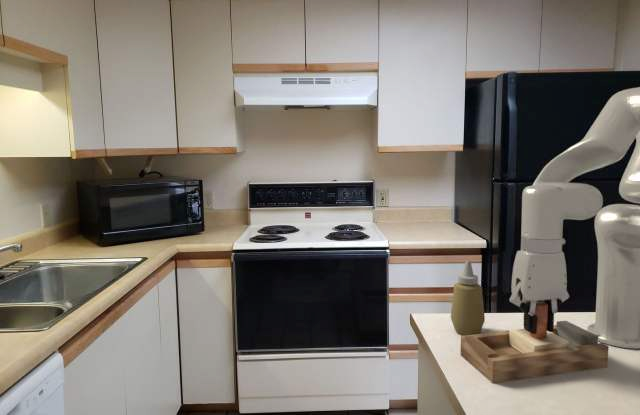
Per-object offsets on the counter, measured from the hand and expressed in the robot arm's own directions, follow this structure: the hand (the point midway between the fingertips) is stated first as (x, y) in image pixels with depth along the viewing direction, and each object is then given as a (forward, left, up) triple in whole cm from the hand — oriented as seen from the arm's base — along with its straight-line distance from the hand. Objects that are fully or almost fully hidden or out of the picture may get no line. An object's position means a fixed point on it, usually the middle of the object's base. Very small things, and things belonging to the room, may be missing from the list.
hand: (538, 329), depth 90 cm
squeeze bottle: (+6, -17, -7) cm, 19 cm away
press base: (+1, 0, -7) cm, 7 cm away
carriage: (0, 0, -5) cm, 5 cm away
